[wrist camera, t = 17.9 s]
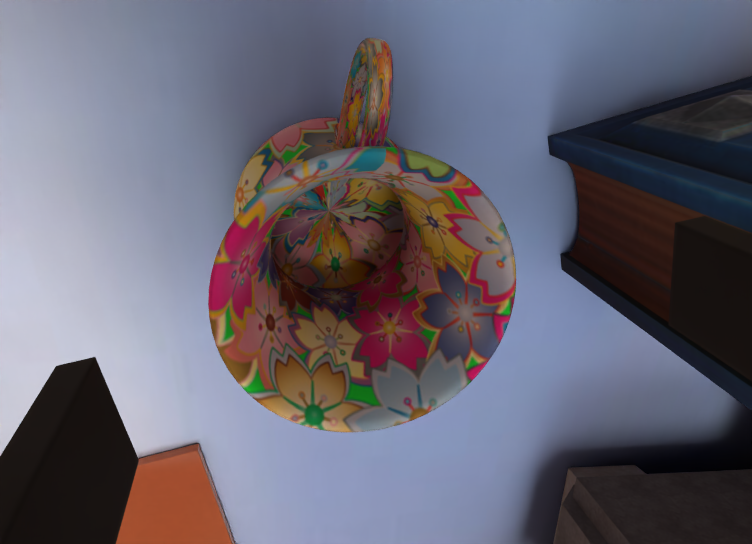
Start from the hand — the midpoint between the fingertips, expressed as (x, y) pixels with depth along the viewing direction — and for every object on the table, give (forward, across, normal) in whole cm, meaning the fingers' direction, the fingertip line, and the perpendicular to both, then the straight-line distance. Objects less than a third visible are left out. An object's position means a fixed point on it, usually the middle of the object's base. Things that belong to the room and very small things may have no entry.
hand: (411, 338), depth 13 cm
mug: (+15, 0, 0) cm, 15 cm away
